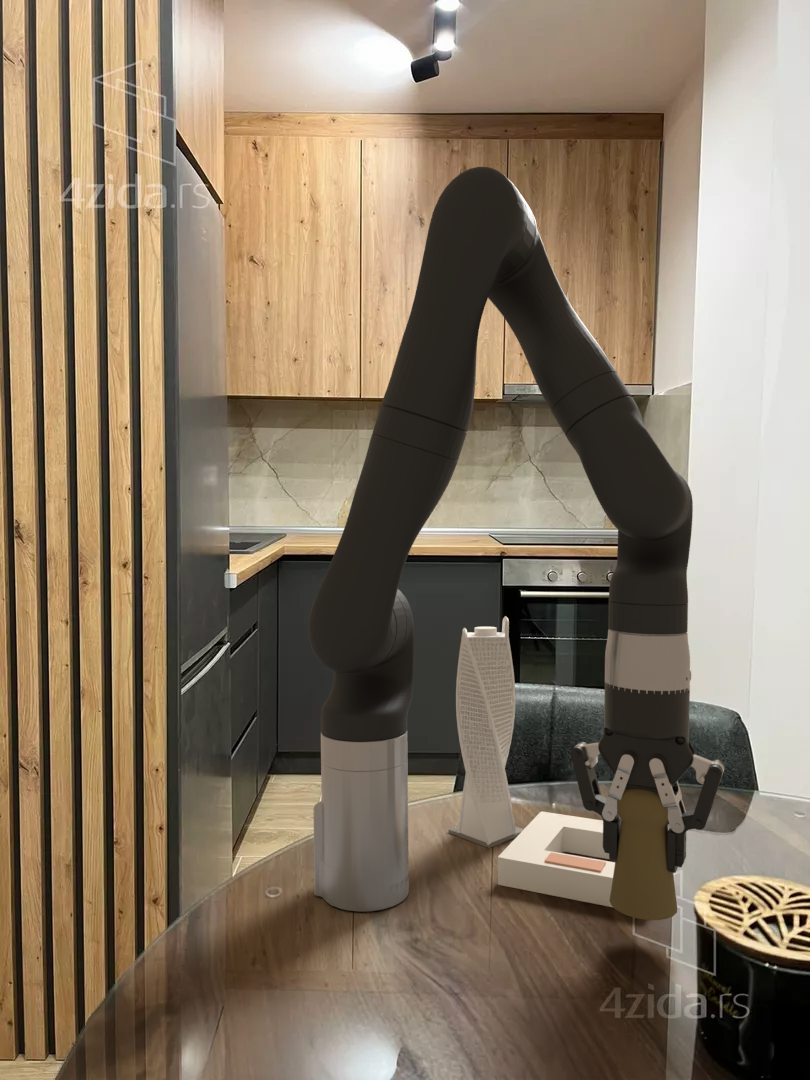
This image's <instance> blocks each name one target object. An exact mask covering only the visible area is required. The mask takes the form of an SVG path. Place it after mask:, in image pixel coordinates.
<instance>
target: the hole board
mask: <svg viewBox="0 0 810 1080" xmlns="http://www.w3.org/2000/svg"><path fill="white" fill-rule="evenodd" d="M523 829H524V830H523V831H522V832H521V833H520V834H519V835H518V836H517V837H515V838H513V839H512V842H510V843H509V845H508V846H507V847H506V848H505V849H504V850H503V851H502V852H500V854H499V855H498V857H497V885H498V886H504V887H509V888H514V889H518V890H523V891H529V892H534V893H538V894H539V893H540V894H544V895H548V896H553V897H554V896H555V897H558V898H559V897H560V898H563V899H564V898H565V899H569V900H574V901H579V902H584V903H589V904H594V905H600V906H604V907H610V908H613V907H612V905H611V903H610V894H611V887H612V881H613V874H614V867H615V861H611V860H610V859H609V853H605V852H604V849H603V819H596V818H595V819H594V818H589V817H582V816H576V815H575V816H574V815H568V814H560V813H556V812H555V813H554V812H548V811H540V812H538V814H537V815H536V816H535V817H534V818H533V819H532V820H531V821H530V822H529V823H528V824H527V826H526V827H524V828H523ZM568 853H571V854H568ZM574 854H577V855H574ZM580 855H581V856H580ZM582 855H583V856H582ZM585 856H587V857H585ZM588 856H589V857H588ZM592 857H593V858H592ZM597 858H599V859H597ZM603 859H606V860H603ZM608 860H609V861H608Z"/></svg>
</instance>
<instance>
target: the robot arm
mask: <svg viewBox="0 0 810 1080" xmlns="http://www.w3.org/2000/svg"><path fill="white" fill-rule="evenodd" d="M537 225H538V224H537V221H536V218H535V216H534V212H533V211H532V209H531V207H530V206H529V204H528V202H527V201H526V200H525V198H524V196H523V195H522V193H520V191H519V189H518V188H517V186H516V185H515V184H514V183H513V182H512V180H510V179H509V177H507V176H506V175H505V174H504V173H502V172H501V171H499V169H498V170H497V169H496V168H492V167H488V166H476V167H473V168H472V167H471V168H468V169H466V170H464V171H462V172H460V173H459V174H458V175H457V176H455V177H454V178H453V179H452V180H451V181H450V182H449V183H448V184H447V185H446V186H445V187H444V189H443V191H442V192H441V193H440V195H439V197H438V199H437V202H436V204H435V206H434V209H433V211H432V214H431V218H430V221H429V227H428V230H427V235H426V241H425V245H424V251H423V256H422V260H421V266H420V270H419V276H418V281H417V285H416V290H415V294H414V299H413V302H412V306H411V310H410V313H409V317H408V320H407V323H406V326H405V329H404V332H403V335H402V338H401V340H400V341H401V342H400V345H399V347H398V351H397V355H396V358H395V362H394V365H393V368H392V371H391V375H390V378H389V380H388V385H387V387H386V390H385V393H384V395H383V397H382V401H381V405H380V407H379V411H378V414H377V416H376V420H375V423H374V427H373V430H372V434H371V436H370V439H369V444H368V448H367V452H366V455H365V459H364V462H363V465H362V468H361V472H360V474H359V475H360V476H359V478H358V482H357V484H356V488H355V491H354V493H353V494H354V495H353V497H352V502H351V505H350V508H349V512H348V516H347V519H346V522H345V525H344V528H343V531H342V534H341V537H340V539H339V542H338V544H337V547H336V549H335V551H334V553H333V557H332V558H331V561H330V563H329V566H328V568H327V570H326V573H325V575H324V578H323V579H322V582H321V584H320V586H319V589H318V592H317V594H316V596H315V598H314V600H313V602H312V605H311V610H310V612H309V617H308V626H307V627H308V628H307V629H308V632H307V633H308V638H309V643H310V646H311V649H312V652H313V654H314V656H315V658H316V659H317V660H318V661H319V662H320V663H321V665H323V666H324V667H325V668H327V669H329V670H330V671H332V672H334V679H333V682H332V687H331V689H330V692H329V695H328V696H327V698H326V700H325V701H324V703H323V705H322V707H321V710H320V764H321V765H320V768H321V769H320V773H321V774H320V777H321V778H320V780H321V781H320V782H321V783H320V784H321V800H320V801H319V802H317V803H315V804H314V807H313V886H314V887H313V891H314V893H313V894H314V895H315V896H317V897H321V898H322V899H323V900H324V901H325V902H326V903H328V904H329V905H330V906H332V907H335V908H338V909H339V910H340V909H341V910H345V911H349V912H350V911H352V912H374V911H381V910H385V909H389V908H392V907H394V906H396V905H398V904H401V903H402V902H403V901H404V900H405V899H406V898H407V897H408V895H409V889H410V888H409V887H410V885H409V883H410V881H409V880H410V870H409V868H410V867H409V784H408V782H409V781H408V780H409V779H408V778H409V776H408V775H409V774H408V773H409V772H408V771H409V770H408V769H409V768H408V767H409V766H408V765H409V763H408V716H409V710H410V708H411V703H412V700H413V695H414V694H413V693H414V667H415V625H414V623H415V622H414V618H413V612H412V609H411V608H412V607H411V606H410V603H409V601H408V599H407V597H406V596H405V595H404V594H403V592H402V591H401V590H400V589H399V585H400V582H401V578H402V573H403V571H404V567H405V565H406V561H407V559H408V556H409V554H410V551H411V549H412V547H413V545H414V543H415V541H416V538H417V537H418V535H419V534H420V532H421V531H422V529H423V527H424V526H425V524H426V523H427V521H428V519H429V518H430V517H431V515H432V514H433V511H434V510H435V508H436V507H437V505H438V504H439V502H440V500H441V499H442V497H443V495H444V494H445V491H447V490H446V489H447V487H448V486H449V484H450V481H451V479H452V477H453V474H454V472H455V470H456V467H457V464H458V461H459V458H460V456H461V453H462V449H463V446H464V444H465V440H466V437H467V434H468V433H467V432H468V431H469V427H470V424H471V420H472V415H473V408H474V403H475V391H476V380H477V379H476V377H477V376H476V375H477V353H478V351H477V350H478V340H479V333H480V332H479V331H480V327H481V321H482V318H483V314H484V310H485V307H486V304H487V302H488V300H489V301H490V302H491V303H492V304H493V306H495V308H496V310H498V312H499V313H500V314H501V316H502V317H503V318H504V320H505V321H506V323H507V325H508V326H509V328H510V329H511V331H512V333H513V334H514V336H515V338H516V340H517V341H518V343H519V346H520V348H521V350H522V352H523V354H524V357H525V359H526V361H527V364H528V366H529V369H530V372H531V373H532V376H533V378H534V380H535V383H536V384H537V387H538V389H539V391H540V394H541V395H542V398H543V399H544V401H545V402H546V404H547V406H548V408H549V410H550V412H551V413H552V416H553V417H554V419H555V420H556V422H557V424H558V425H559V427H560V428H561V431H562V432H563V434H564V436H565V437H566V439H567V441H568V442H569V443H570V445H571V447H572V448H573V449H574V451H575V452H576V454H577V455H578V457H579V460H580V463H581V465H582V468H583V469H584V472H585V474H586V477H587V479H588V481H589V483H590V486H591V488H592V490H593V492H594V495H595V497H596V499H597V500H598V502H599V505H600V506H601V508H602V510H603V512H604V513H605V515H606V517H607V518H608V519H609V521H610V522H611V524H612V525H613V526H614V527H615V529H616V530H617V549H616V550H617V554H616V555H617V556H616V557H617V560H616V561H617V562H616V566H615V569H614V571H613V573H612V575H611V577H610V582H609V588H608V617H607V618H608V622H607V624H608V630H607V639H606V645H605V652H604V653H605V655H604V707H603V708H604V711H603V712H604V715H603V717H604V718H603V719H604V721H603V734H602V736H601V738H600V740H599V741H598V742H593V743H588V742H584V741H580V742H579V743H577V744H576V745H575V746H574V747H573V748H572V749H571V750H570V758H571V762H572V766H573V770H574V773H575V778H576V781H577V786H578V790H579V794H580V797H581V801H582V805H583V807H584V809H585V810H586V811H588V812H594V813H596V814H598V815H599V816H600V817H601V820H602V821H603V849H604V852H605V853H609V859H608V860H609V861H611V862H615V861H617V851H618V841H619V834H620V827H621V821H622V820H621V818H620V816H619V815H618V813H617V800H621V798H622V796H623V793H624V791H625V788H626V789H643V790H648V791H652V792H655V793H658V794H659V796H660V799H661V802H662V805H663V807H664V808H667V809H668V820H669V824H668V825H669V827H668V828H669V829H668V838H667V870H668V871H669V872H673V874H674V873H675V874H676V873H677V870H678V868H682V867H683V865H684V863H685V860H686V858H687V831H689V830H694V829H696V830H699V831H701V830H704V828H705V827H706V825H707V822H708V819H709V817H710V813H711V811H712V808H713V805H714V802H715V798H716V795H717V793H718V790H719V786H720V784H721V780H722V778H723V774H724V771H725V763H724V762H723V761H721V760H719V759H713V760H710V759H708V758H706V757H704V756H700V755H698V754H695V750H694V748H693V746H692V744H691V742H690V704H691V703H690V699H691V697H690V696H691V695H690V694H691V693H690V692H691V680H692V669H691V656H690V655H691V653H690V646H689V634H688V624H689V623H688V622H689V614H688V612H689V592H688V591H689V589H688V577H687V576H688V573H687V572H688V565H689V560H690V559H689V558H690V552H691V551H690V550H691V539H692V529H693V517H694V516H693V514H694V513H693V512H694V511H693V510H694V507H693V506H694V505H693V504H694V503H693V494H692V490H691V488H690V486H689V483H688V482H687V481H686V480H685V479H684V477H683V476H682V475H681V474H679V473H678V472H677V471H675V470H674V468H673V467H672V466H671V464H670V462H669V461H668V459H667V458H666V456H664V454H663V453H662V451H661V450H660V448H659V446H658V445H657V443H656V441H655V440H654V439H653V437H652V436H651V434H650V433H649V431H648V430H647V428H646V427H645V425H644V420H643V415H642V413H641V411H640V408H639V407H638V405H637V403H636V401H635V399H634V398H633V396H632V394H631V393H630V391H629V390H628V388H627V387H626V385H625V383H624V382H623V380H622V377H620V375H619V373H618V371H616V368H615V367H614V365H613V364H612V362H611V361H610V358H609V357H608V356H607V355H606V353H605V351H604V350H603V348H602V347H601V345H600V344H599V343H598V342H597V340H596V339H595V337H594V336H593V334H591V332H590V331H589V329H588V328H587V327H586V325H585V324H584V322H583V321H582V320H581V318H580V317H579V315H578V314H577V311H575V309H574V308H573V306H572V304H571V303H570V301H569V299H568V297H567V295H566V294H565V292H564V289H562V286H561V283H560V282H559V280H558V278H557V275H556V274H555V272H554V271H555V270H554V269H553V267H552V264H551V262H550V259H549V256H548V254H547V251H546V249H545V245H544V243H543V240H542V238H541V235H540V232H539V230H538V226H537ZM599 755H601V757H602V758H603V760H604V762H605V763H606V765H607V766H608V768H609V769H610V771H611V773H612V774H613V776H614V778H613V780H612V782H611V785H610V789H609V791H608V794H607V797H605V796H603V795H602V793H601V790H600V785H599V781H598V777H597V774H596V770H595V766H596V765H597V764H598V761H599ZM691 767H692V768H693V769H694V771H695V773H696V774H695V778H696V781H697V782H698V783H699V784H701V785H702V787H701V790H700V793H699V796H698V799H697V802H696V806H695V808H694V809H693V810H687V811H686V807H685V804H684V801H683V794H682V790H681V787H680V785H679V780H680V779H681V778H682V777H683V775H684V774H685V773H686V772H687V771H688V770H689V769H690V768H691ZM666 793H667V794H666Z"/></svg>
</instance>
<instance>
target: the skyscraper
mask: <svg viewBox="0 0 810 1080" xmlns="http://www.w3.org/2000/svg"><path fill="white" fill-rule="evenodd" d="M509 625H510V621H509V618H508V617H507V616H506V615H505V616H504V617H503V618H502V623H501V627H502V628H501V632H498V630H497V629H498V627H497V626H496V627H495V626H476V627H474V628H473V629H474V630H473V631H474V632H471V631H470V632H469V631H468V630H467V628H466V627H463V628H462V631H461V632H462V634H461V639H460V640H461V641H460V646H459V652H458V653H459V654H458V663H457V670H456V671H457V672H456V684H455V685H456V686H455V712H456V713H455V715H456V724H457V733H458V739H459V746H460V750H461V751H460V752H461V758H462V761H463V767H464V771H465V776H464V782H463V788H462V797H461V803H460V804H461V805H460V811H459V818H458V825H455V826H454V827H451V828H448V833H449V834H451V835H454V836H457V837H459V838H463V839H464V840H468V841H470V842H473V843H474V844H478V845H480V846H483V847H486V848H488V849H490V848H492V847H495V846H498V845H500V844H503V843H505V842H508V841H510V840H514V839H515V838H516V837H517V836H518V835H519V834H520V833H521V832H522V831H523V830H524V829H525V828H522V827H518V826H516V823H515V816H514V809H513V805H512V804H513V803H512V800H511V799H512V798H511V793H510V787H509V783H508V778H507V773H506V769H505V768H506V765H507V762H508V757H509V752H510V748H511V744H512V738H513V733H514V726H515V716H516V715H515V714H516V682H515V681H516V680H515V672H514V671H515V670H514V665H513V658H512V657H513V656H512V655H513V654H512V650H511V649H512V648H511V643H510V642H511V641H510V637H509V636H510V635H509V633H510V631H509V630H510V626H509Z"/></svg>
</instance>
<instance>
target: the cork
mask: <svg viewBox="0 0 810 1080" xmlns="http://www.w3.org/2000/svg"><path fill="white" fill-rule="evenodd" d="M666 794H667V793H666ZM617 813H618V815H619V816H620V818H621V820H622V821H621V827H620V834H619V841H618V851H617V861H614V862H615V867H614V874H613V881H612V887H611V894H610V903H611V905H612V907H611V908H614V909H615V911H617V912H619V913H621V914H623V915H624V916H627V917H628V916H629V917H630V918H634V919H637V920H638V919H640V920H644V921H660V920H661V921H662V920H667V919H670V918H672V917H674V916H675V915H676V914H678V902H677V892H676V886H675V878H674V873H673V872H669V871H668V870H667V838H668V830H669V829H668V828H669V827H668V825H670V824H669V820H668V809H667V808H664V807H663V805H662V802H661V799H660V796H659V794H658V793H655V792H652V791H648V790H643V789H626V788H625V791H624V793H623V796H622V798H621V800H617Z"/></svg>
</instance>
